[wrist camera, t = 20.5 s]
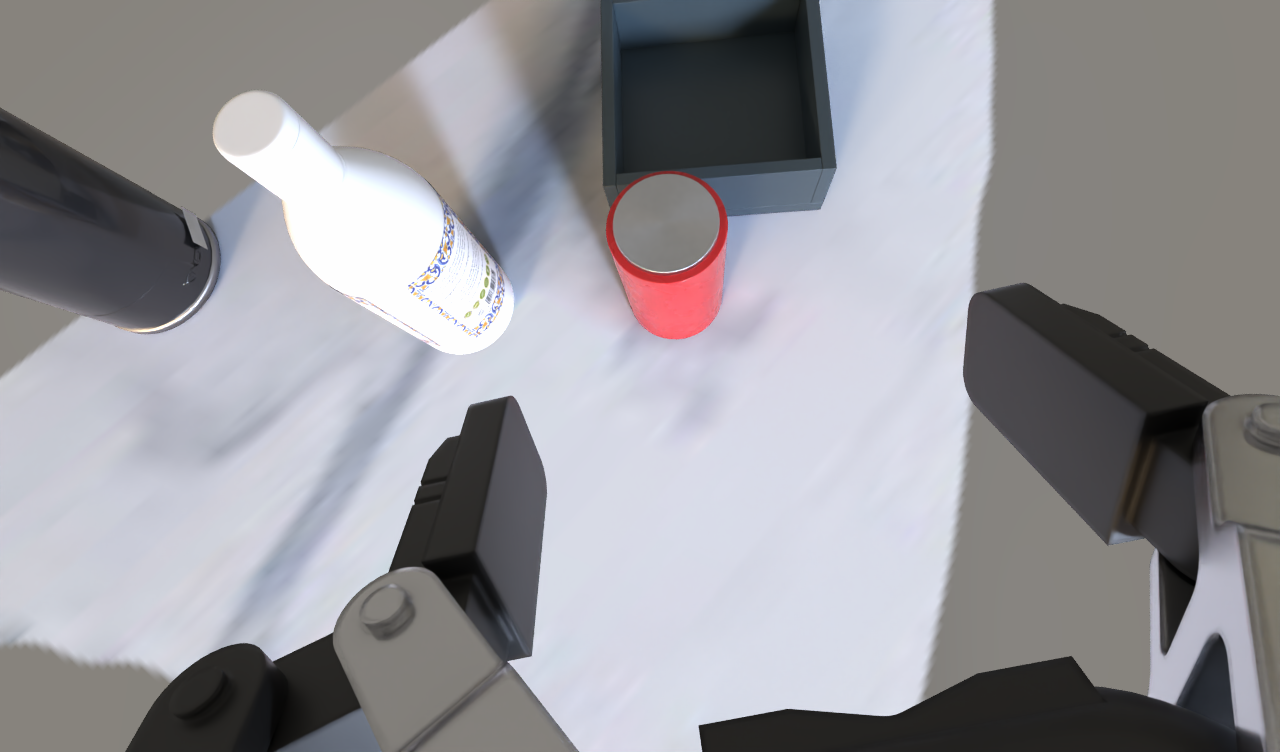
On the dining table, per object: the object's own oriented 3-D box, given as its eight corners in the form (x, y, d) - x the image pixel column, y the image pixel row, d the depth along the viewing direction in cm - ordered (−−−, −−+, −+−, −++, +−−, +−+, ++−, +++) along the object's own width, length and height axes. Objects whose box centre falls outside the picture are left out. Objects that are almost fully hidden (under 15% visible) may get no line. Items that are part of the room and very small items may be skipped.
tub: (615, 224, 41) (602, 186, 36) (611, 51, 44) (600, -6, 39) (820, 209, 39) (836, 168, 35) (803, 32, 42) (815, -29, 37)
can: (630, 341, 39) (605, 284, 29) (629, 255, 40) (603, 170, 30) (724, 337, 38) (731, 276, 28) (719, 249, 40) (724, 161, 29)
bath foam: (509, 248, 41) (334, 18, 22) (524, 344, 40) (349, 188, 20) (412, 270, 42) (156, 63, 22) (423, 365, 40) (157, 233, 21)
